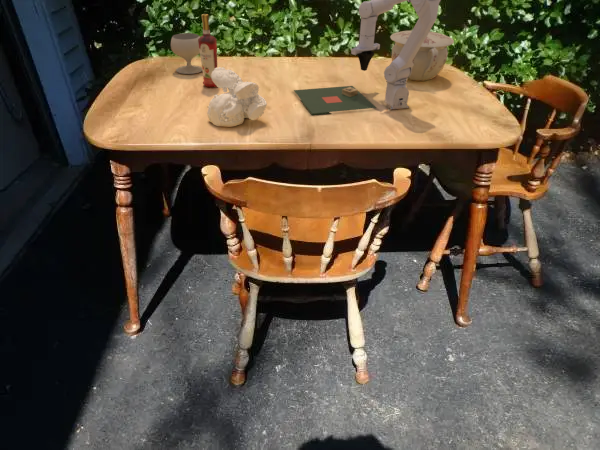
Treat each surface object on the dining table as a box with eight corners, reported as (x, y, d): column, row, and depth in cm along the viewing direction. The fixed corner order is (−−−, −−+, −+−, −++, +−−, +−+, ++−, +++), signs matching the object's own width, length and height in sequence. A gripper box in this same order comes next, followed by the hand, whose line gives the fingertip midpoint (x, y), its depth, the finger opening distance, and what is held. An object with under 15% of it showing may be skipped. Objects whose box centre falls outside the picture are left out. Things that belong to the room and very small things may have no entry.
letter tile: (349, 91, 195) (349, 86, 194) (357, 94, 192) (357, 89, 191) (341, 94, 192) (342, 89, 191) (349, 97, 190) (350, 92, 188)
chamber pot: (398, 64, 231) (404, 18, 219) (453, 74, 220) (463, 26, 208) (375, 79, 211) (381, 30, 200) (435, 90, 200) (444, 39, 188)
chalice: (211, 69, 218) (208, 35, 209) (190, 77, 208) (186, 41, 200) (188, 64, 224) (185, 31, 215) (167, 71, 214) (162, 37, 206)
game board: (376, 109, 181) (376, 107, 181) (311, 115, 175) (311, 113, 174) (352, 87, 201) (352, 85, 201) (293, 92, 195) (293, 90, 195)
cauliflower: (185, 97, 162) (224, 57, 165) (213, 133, 178) (248, 96, 182) (219, 116, 152) (259, 73, 155) (245, 152, 168) (281, 113, 172)
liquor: (199, 87, 197) (192, 15, 181) (206, 82, 203) (200, 12, 187) (216, 89, 196) (210, 17, 180) (222, 83, 202) (217, 13, 186)
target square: (342, 102, 185) (342, 101, 185) (326, 103, 183) (326, 103, 183) (337, 96, 190) (337, 96, 190) (321, 97, 189) (321, 97, 188)
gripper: (372, 30, 190) (368, 64, 198) (346, 35, 182) (344, 70, 190) (385, 33, 185) (381, 68, 193) (360, 39, 178) (356, 75, 185)
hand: (363, 69), depth 191 cm, fingers closed
